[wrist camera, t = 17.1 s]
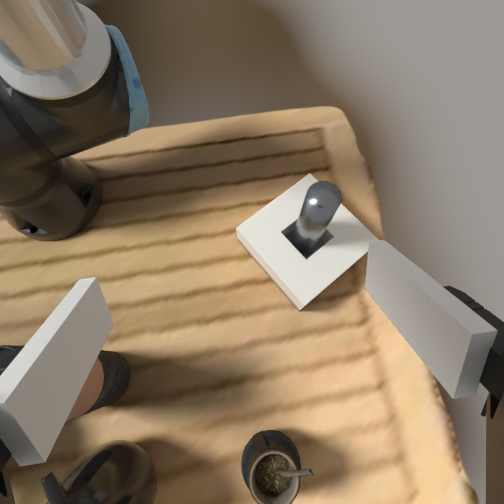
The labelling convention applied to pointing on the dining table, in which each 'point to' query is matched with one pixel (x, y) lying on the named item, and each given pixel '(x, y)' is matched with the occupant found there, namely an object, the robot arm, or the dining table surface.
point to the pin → (315, 215)
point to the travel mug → (95, 382)
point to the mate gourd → (272, 468)
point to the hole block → (289, 258)
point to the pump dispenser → (106, 477)
